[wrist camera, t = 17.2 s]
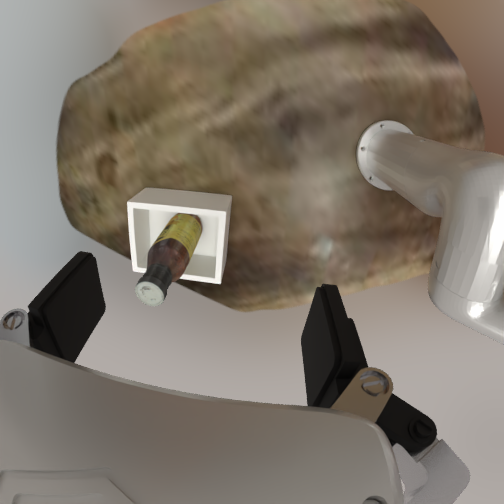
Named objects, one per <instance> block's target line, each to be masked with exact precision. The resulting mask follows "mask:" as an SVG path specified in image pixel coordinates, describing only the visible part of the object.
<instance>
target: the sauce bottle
mask: <svg viewBox="0 0 504 504" xmlns="http://www.w3.org/2000/svg"><path fill="white" fill-rule="evenodd" d="M201 233H202V224H201V221H200V219H199V218H198V217H197V215H195V214H186V213H177V214H176V215H175V216H174V217H172V218H171V219H170V221H169V222H168V224H167V225H166V226H165V228H164V229H163V231H162V232H161V233H160V235H159V236H158V237H157V239H156V241H155V242H154V243H153V245H152V246H151V248H150V249H149V251H148V256H147V270H146V272H145V274H144V275H143V277H142V278H140V280H139V281H138V283H137V285H136V288H135V292H136V295H137V297H138V298H139V299H140V300H141V301H142V302H143V303H145V304H146V305H150V306H158V305H160V304H162V303H163V301H164V299H165V297H166V295H167V289H168V287H169V285H170V284H171V283H172V282H175V281H177V280H178V279H179V278H180V277H181V276H182V275H183V274H184V272H185V270H186V267H187V266H188V264H189V262H190V260H191V257H192V255H193V253H194V250H195V248H196V246H197V244H198V241H199V239H200V236H201Z"/></svg>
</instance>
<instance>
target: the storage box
mask: <svg viewBox="0 0 504 504" xmlns="http://www.w3.org/2000/svg"><path fill="white" fill-rule="evenodd" d="M231 203H232V195H223V194H214V193H204V192H194V191H183V190H172V189H160V188H144V189H143V190H142V191H141V192H139V193H138V194H137V195H135V196H134V197H133V198H131V199H130V200H129V201H128V202H127V206H128V223H129V237H130V248H131V258H132V267H133V271H135V272H141V273H145V272H146V270H147V256H148V251H149V249H150V248H151V246H152V245H153V243H154V242H155V241H156V239H157V237H158V236H159V235H160V233H161V232H162V231H163V229H164V228H165V226H166V225H167V224H168V222H169V221H170V219H171V218H172V217H174V216H175V215H176V214H177V213H186V214H195V215H197V217H198V218H199V219H200V221H201V224H202V233H201V236H200V239H199V241H198V244H197V246H196V248H195V250H194V253H193V255H192V257H191V260H190V262H189V264H188V266H187V267H186V270H185V272H184V274H183V275H182V276H181V277H180V278H181V279H188V280H195V281H202V282H209V283H217V284H221V280H222V276H223V272H224V267H225V263H226V257H227V246H228V234H229V224H230V213H231Z"/></svg>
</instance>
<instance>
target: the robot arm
mask: <svg viewBox="0 0 504 504" xmlns="http://www.w3.org/2000/svg"><path fill="white" fill-rule="evenodd" d="M380 124H381V125H382V126H381V127H380ZM361 147H362V149H360V148H361ZM356 159H357V164H358V167H359V170H360V172H361V174H362V175H363V177H364V178H365V179H366V180H367V181H368V182H369V183H370V184H372V185H373V186H375V187H377V188H379V189H382V190H394V191H396V192H397V193H398V194H400V195H401V196H402V197H404V198H405V199H406V200H408V201H409V202H410V203H411V204H413V205H414V206H415V207H417V208H418V209H419V210H420V211H422V212H423V213H425V214H427V215H430V216H433V217H442V220H441V225H440V232H439V237H438V241H437V245H436V249H435V253H434V257H433V261H432V265H431V269H430V273H429V277H428V293H429V296H430V299H431V301H432V302H433V304H434V305H435V306H436V307H437V308H438V309H439V310H440V311H441V312H443V313H444V314H445V315H447V316H448V317H450V318H451V319H453V320H455V321H457V322H459V323H461V324H463V325H465V326H467V327H469V328H471V329H473V330H475V331H477V332H479V333H481V334H483V335H485V336H487V337H489V338H491V339H493V340H495V341H497V342H499V343H501V344H503V345H504V156H503V155H499V154H496V153H491V152H485V151H476V150H468V149H462V148H458V147H454V146H451V145H447V144H444V143H441V142H437V141H434V140H431V139H427V138H424V137H420V136H417V135H414V134H413V133H412V131H411V130H410V129H409V128H407V127H406V126H405V125H403V124H401V123H399V122H396V121H390V120H384V121H379V122H376V123H374V124H372V125H370V126H369V127H368V128H367V129H366V130H365V131H364V132H363V134H362V135H361V137H360V139H359V141H358V145H357V149H356ZM370 176H371V178H370V179H369V177H370ZM105 307H106V306H105V301H104V297H103V292H102V288H101V283H100V278H99V273H98V268H97V262H96V258H95V257H93V255H92V253H88V252H82V251H80V252H78V253H77V254H76V255H75V256H74V257H73V258H72V259H71V260H70V261H69V262H68V263H67V264H66V265H65V266H64V267H63V268H62V269H61V270H60V271H59V272H58V273H57V274H56V275H55V276H54V278H53V279H52V280H51V281H50V282H49V283H48V284H47V285H46V286H45V287H44V288H43V290H42V291H41V292H40V293H39V294H38V295H37V296H36V297H35V298H34V300H33V301H32V302H31V303H30V304H29V306H28V308H29V310H30V311H29V313H27V312H26V311H25V310H23V309H13V310H11V311H9V312H7V313H6V314H5V315H4V316H3V317H2V319H1V321H0V504H453V503H454V501H455V500H456V499H457V498H458V497H459V495H460V494H461V493H462V492H463V490H464V489H465V488H466V487H467V485H468V483H469V480H470V472H469V470H468V468H467V467H466V465H465V464H464V463H463V462H462V461H461V459H460V458H459V457H457V455H456V454H455V453H454V452H453V450H452V449H451V448H450V447H449V446H448V445H447V444H446V443H445V441H444V440H443V439H441V440H440V441H439V440H438V439H437V438H436V435H437V429H436V426H435V424H434V422H433V421H432V420H431V419H430V418H429V417H428V416H426V415H425V414H423V413H422V412H420V411H419V410H417V409H416V408H414V407H412V406H411V405H409V404H408V403H406V402H405V401H403V400H402V399H400V398H399V397H397V396H395V395H394V394H393V393H392V391H393V382H392V380H391V378H390V377H389V376H388V374H387V373H385V372H384V371H382V370H380V369H377V368H373V367H368V365H367V361H366V358H365V355H364V352H363V348H362V345H361V342H360V339H359V336H358V333H357V330H356V327H355V324H354V321H353V319H351V318H348V317H347V314H346V311H345V308H344V305H343V302H342V299H341V296H340V293H339V290H338V287H337V286H336V285H329V284H322V286H321V287H317V288H316V291H315V295H314V298H313V301H312V305H311V308H310V311H309V314H308V317H307V321H306V324H305V327H304V330H303V333H302V337H301V346H302V355H303V364H304V373H305V383H306V393H307V404H308V406H297V405H283V404H270V403H259V402H250V401H241V400H232V399H224V398H217V397H210V396H203V395H198V394H192V393H186V392H181V391H176V390H170V389H166V388H161V387H157V386H152V385H148V384H143V383H139V382H135V381H132V380H128V379H124V378H120V377H117V376H113V375H110V374H106V373H103V372H100V371H96V370H93V369H90V368H87V367H84V366H81V365H78V364H75V363H74V362H75V361H76V359H77V357H78V355H79V354H80V352H81V350H82V348H83V347H84V345H85V343H86V342H87V340H88V338H89V337H90V335H91V333H92V332H93V330H94V328H95V327H96V325H97V324H98V322H99V320H100V319H101V317H102V316H103V314H104V312H105ZM399 473H400V474H399ZM400 478H401V479H402V481H403V483H404V485H405V492H404V495H403V490H402V485H401V479H400Z"/></svg>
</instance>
